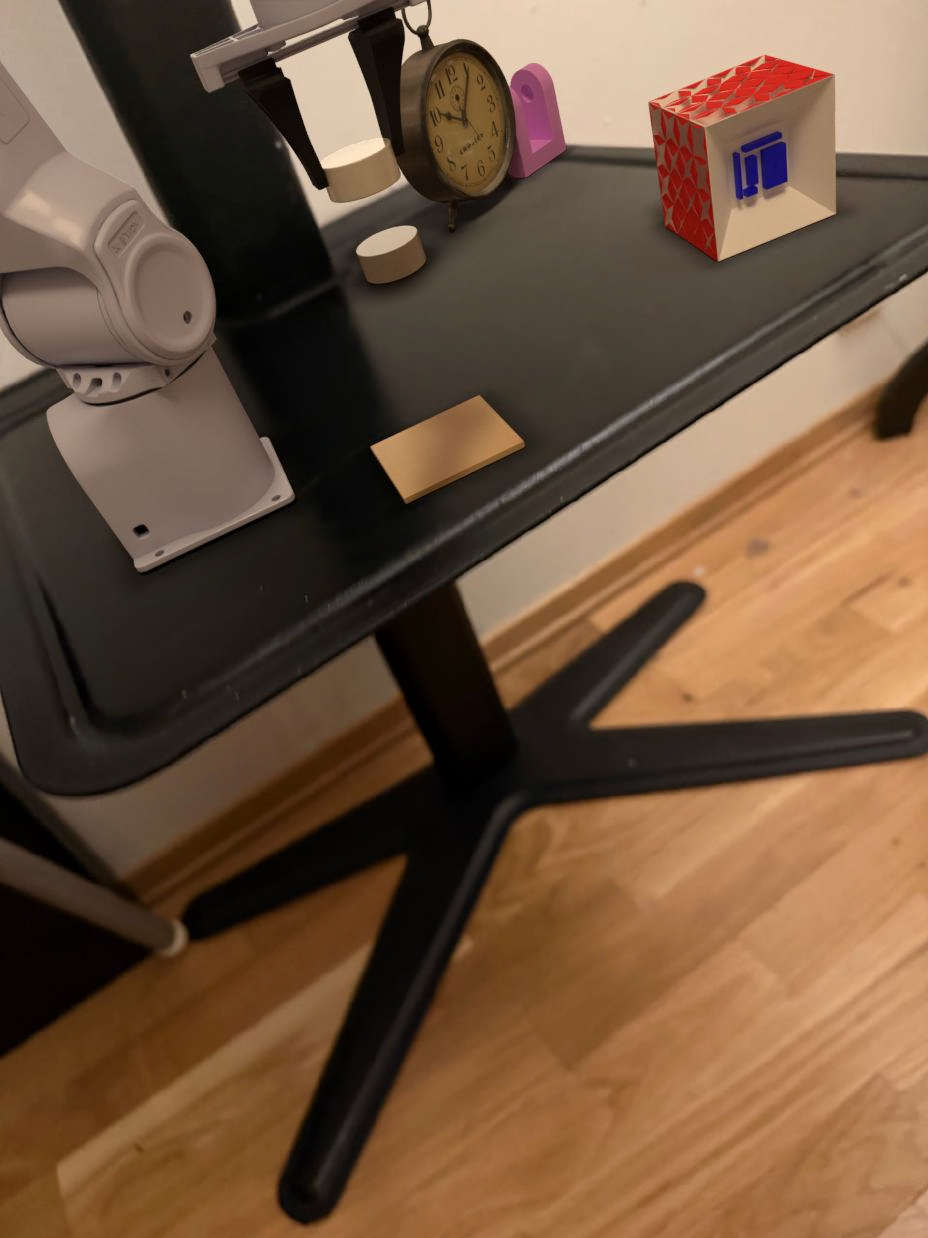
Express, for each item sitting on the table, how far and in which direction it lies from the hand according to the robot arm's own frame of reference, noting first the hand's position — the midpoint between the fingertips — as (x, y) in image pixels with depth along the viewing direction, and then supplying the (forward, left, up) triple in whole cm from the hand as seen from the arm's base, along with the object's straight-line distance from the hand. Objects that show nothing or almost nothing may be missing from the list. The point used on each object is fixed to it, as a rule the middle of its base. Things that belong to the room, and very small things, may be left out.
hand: (359, 168), depth 59 cm
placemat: (-5, -21, -9) cm, 24 cm away
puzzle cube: (+21, -12, -10) cm, 26 cm away
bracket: (+16, +20, -10) cm, 27 cm away
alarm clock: (+10, +12, -10) cm, 18 cm away
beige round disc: (+1, +6, -9) cm, 11 cm away
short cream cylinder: (0, 0, -1) cm, 1 cm away
